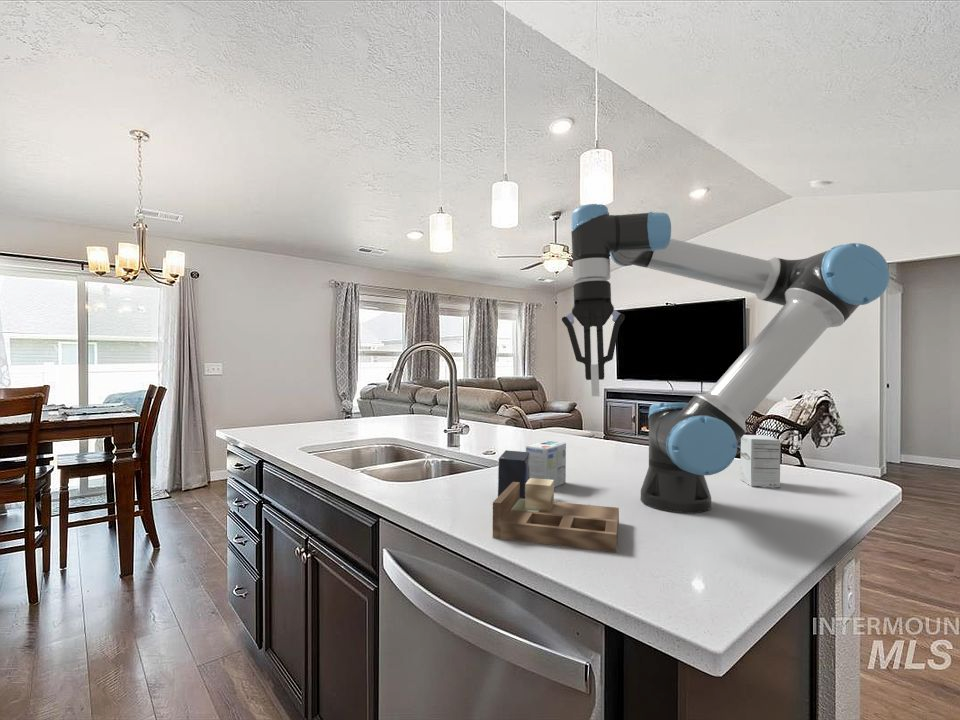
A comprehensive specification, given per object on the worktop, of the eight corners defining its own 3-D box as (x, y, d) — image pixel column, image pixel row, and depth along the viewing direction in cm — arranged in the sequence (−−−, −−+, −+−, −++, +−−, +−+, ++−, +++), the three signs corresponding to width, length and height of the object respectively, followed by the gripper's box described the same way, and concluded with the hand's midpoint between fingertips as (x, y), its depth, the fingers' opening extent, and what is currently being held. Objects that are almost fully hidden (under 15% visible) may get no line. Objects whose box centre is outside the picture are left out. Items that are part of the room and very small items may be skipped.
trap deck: (618, 522, 100) (619, 490, 100) (616, 552, 84) (616, 514, 84) (512, 511, 106) (512, 481, 106) (492, 537, 91) (492, 502, 91)
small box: (525, 506, 111) (525, 459, 110) (496, 504, 112) (497, 458, 112) (530, 493, 121) (530, 450, 121) (504, 492, 122) (504, 449, 122)
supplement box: (739, 480, 136) (739, 434, 136) (768, 481, 135) (768, 435, 134) (750, 487, 128) (750, 438, 128) (781, 488, 127) (781, 439, 127)
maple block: (553, 503, 102) (553, 479, 102) (550, 511, 97) (550, 485, 97) (529, 501, 103) (530, 478, 103) (525, 508, 99) (525, 483, 99)
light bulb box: (544, 479, 136) (544, 439, 135) (566, 482, 132) (567, 442, 132) (524, 487, 127) (524, 445, 127) (547, 491, 123) (548, 448, 123)
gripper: (623, 282, 104) (627, 394, 104) (561, 286, 108) (565, 395, 108) (625, 276, 97) (629, 396, 97) (558, 281, 100) (562, 397, 100)
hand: (595, 395), depth 102 cm, fingers closed
